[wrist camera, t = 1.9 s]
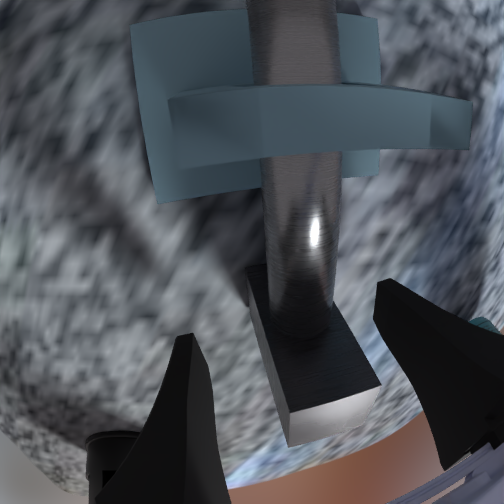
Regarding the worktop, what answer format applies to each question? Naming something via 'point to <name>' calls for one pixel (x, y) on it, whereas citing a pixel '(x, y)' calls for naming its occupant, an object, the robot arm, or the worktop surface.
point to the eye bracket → (270, 106)
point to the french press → (106, 457)
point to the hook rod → (303, 242)
